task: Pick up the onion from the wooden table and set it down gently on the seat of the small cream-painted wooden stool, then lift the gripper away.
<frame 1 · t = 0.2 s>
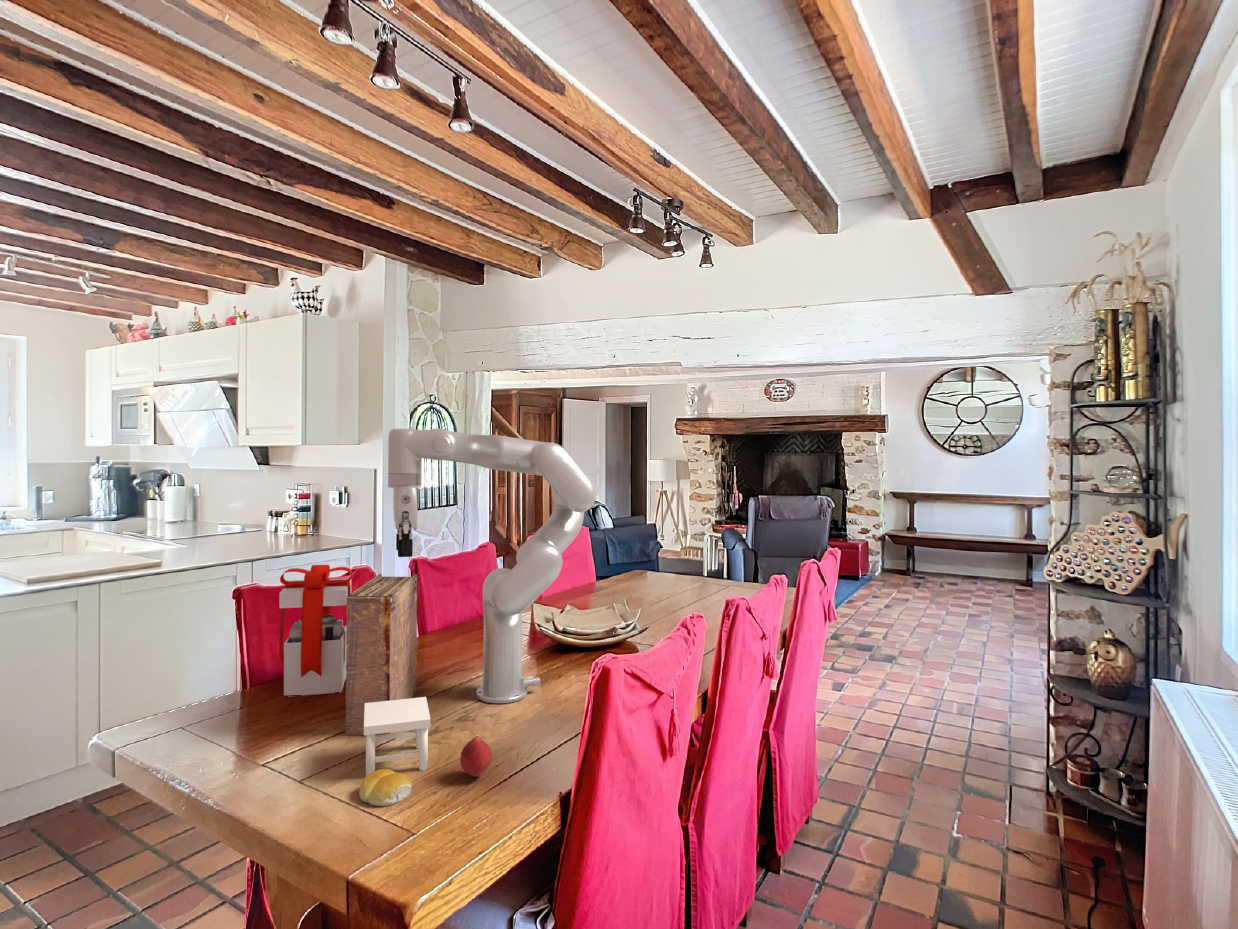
hand: (404, 553, 161), 37 cm above the table, tool pointing down, fingers open, 9 cm apart
book: (383, 713, 159), on the table
gift wrap: (316, 686, 175), on the table
stool: (396, 761, 135), on the table
onion: (475, 777, 129), on the table
bread roll: (385, 796, 122), on the table
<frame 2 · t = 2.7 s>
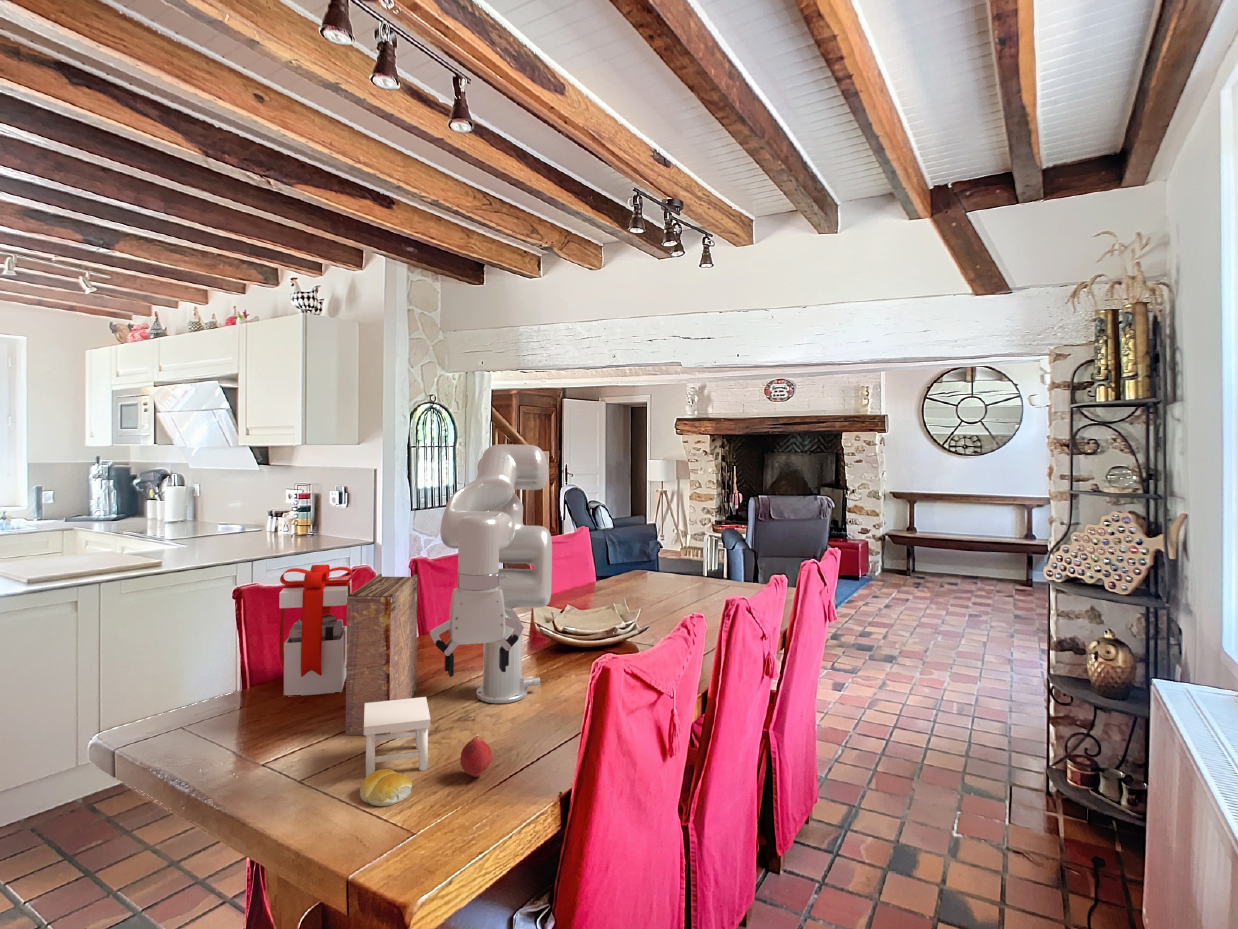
hand: (476, 672, 128), 20 cm above the table, tool pointing down, fingers open, 9 cm apart
nothing on the table moved.
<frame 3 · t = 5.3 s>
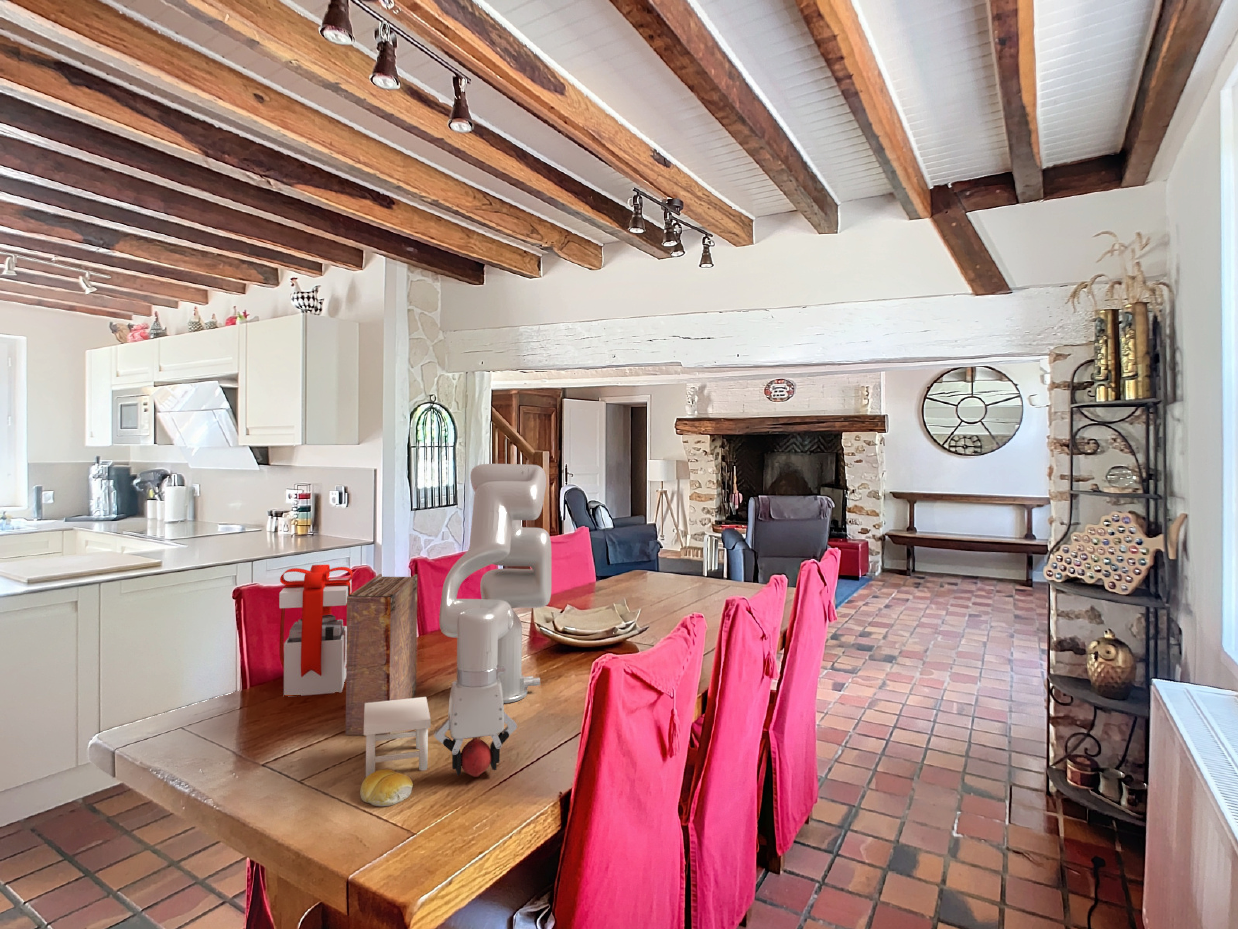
hand: (475, 768, 129), 2 cm above the table, tool pointing down, fingers closed on onion, 5 cm apart
onion: (475, 777, 129), on the table, touching gripper
everything else where it was.
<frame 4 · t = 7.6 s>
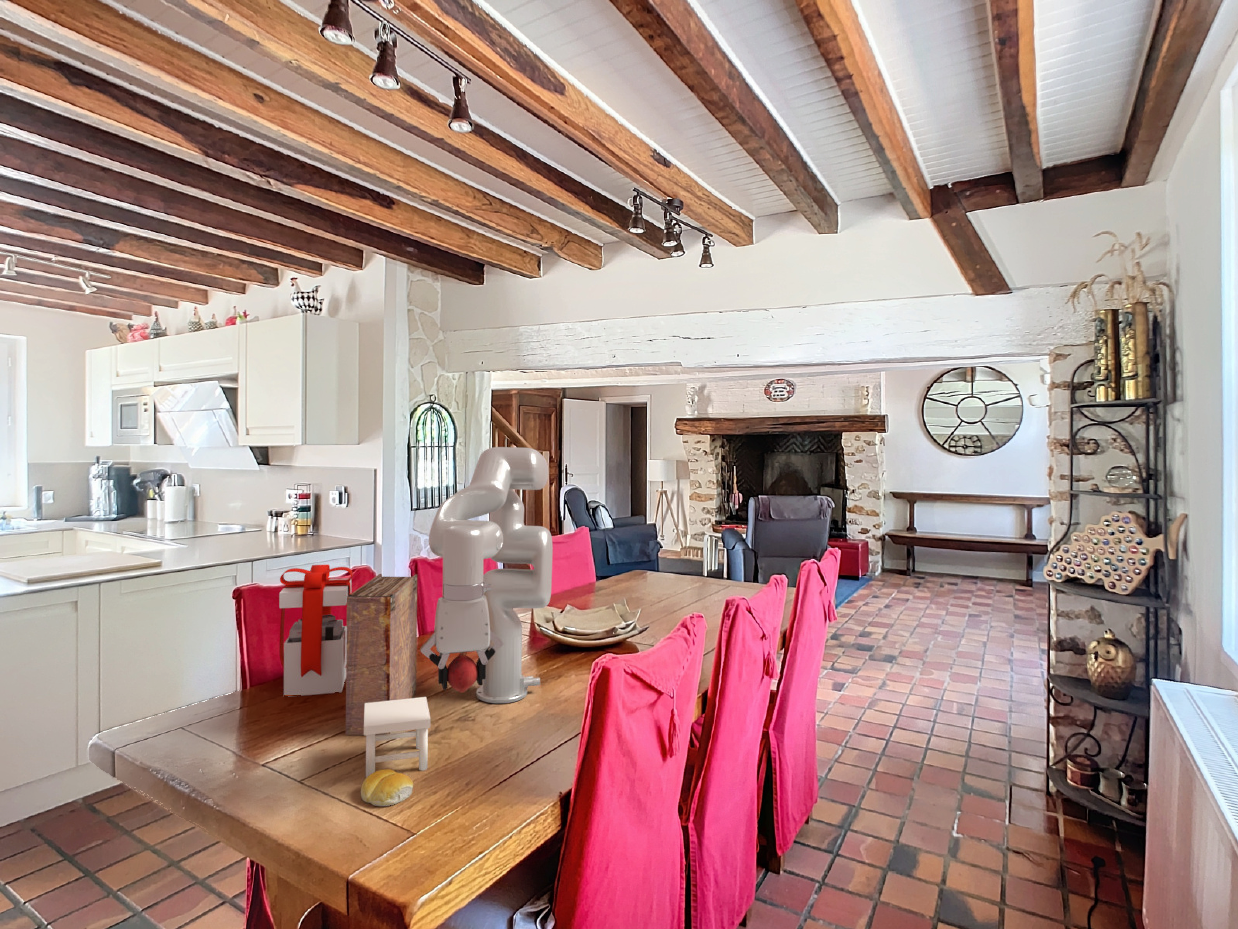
hand: (462, 684, 130), 17 cm above the table, tool pointing down, fingers closed on onion, 5 cm apart
onion: (462, 693, 130), point 15 cm above the table, touching gripper
everything else where it was.
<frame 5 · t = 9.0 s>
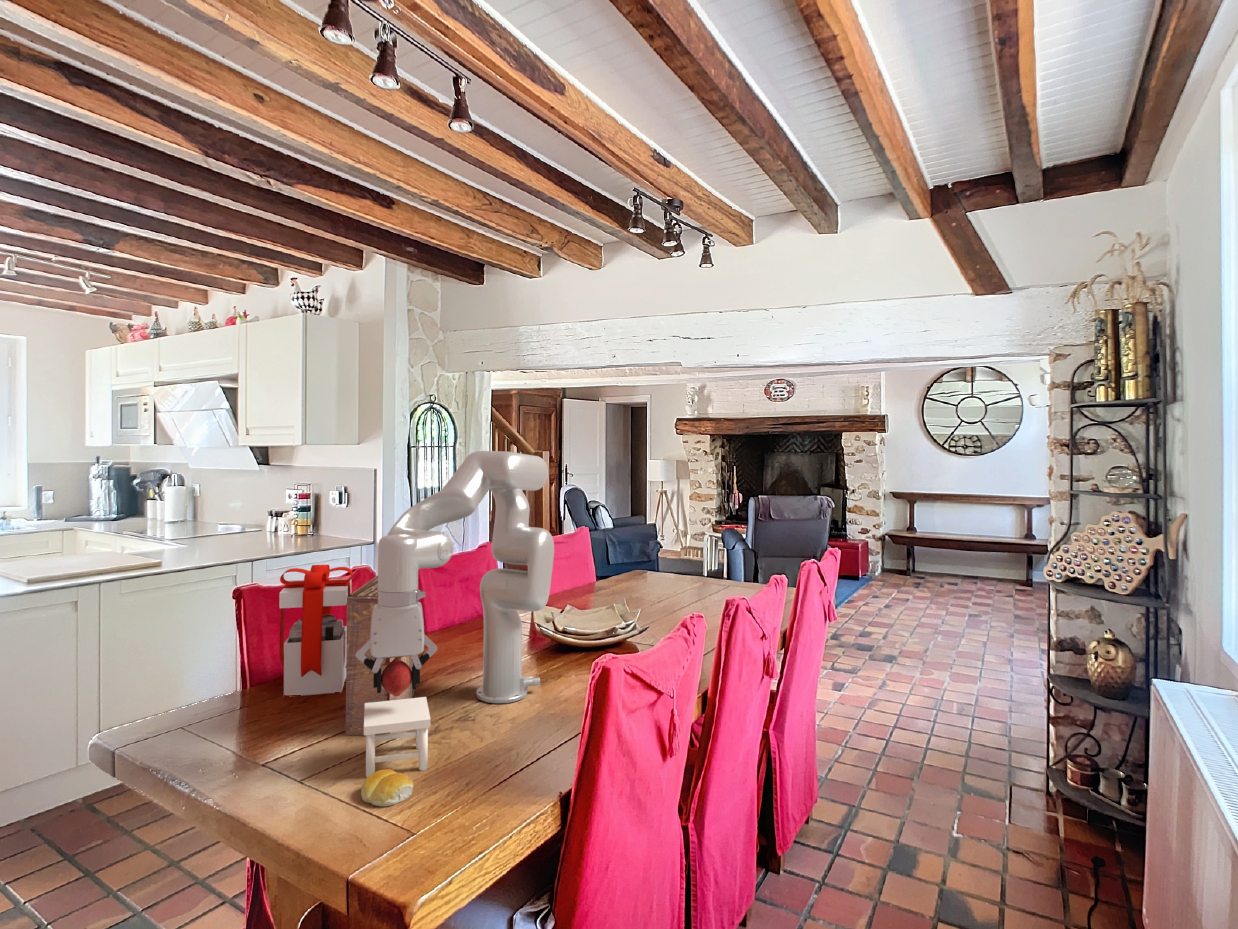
hand: (396, 688, 134), 15 cm above the table, tool pointing down, fingers closed on onion, 5 cm apart
onion: (396, 697, 134), point 13 cm above the table, touching gripper
everything else where it was.
when the fingers open (13 cm above the table, at t = 10.1 s): onion drops 1 cm, resting on stool.
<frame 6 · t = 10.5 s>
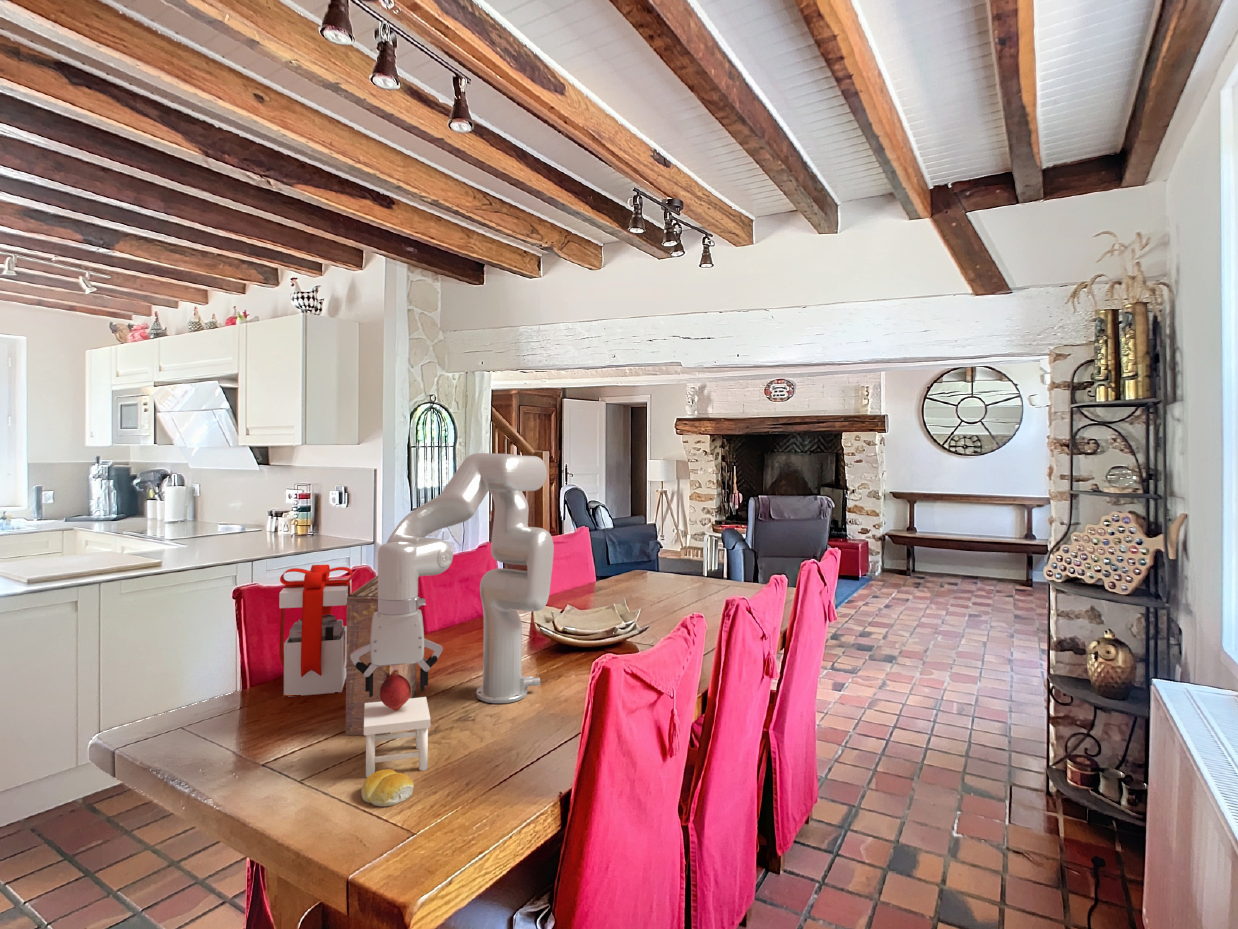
hand: (396, 692, 134), 14 cm above the table, tool pointing down, fingers open, 9 cm apart
onion: (396, 711, 135), point 10 cm above the table, touching stool
everything else where it was.
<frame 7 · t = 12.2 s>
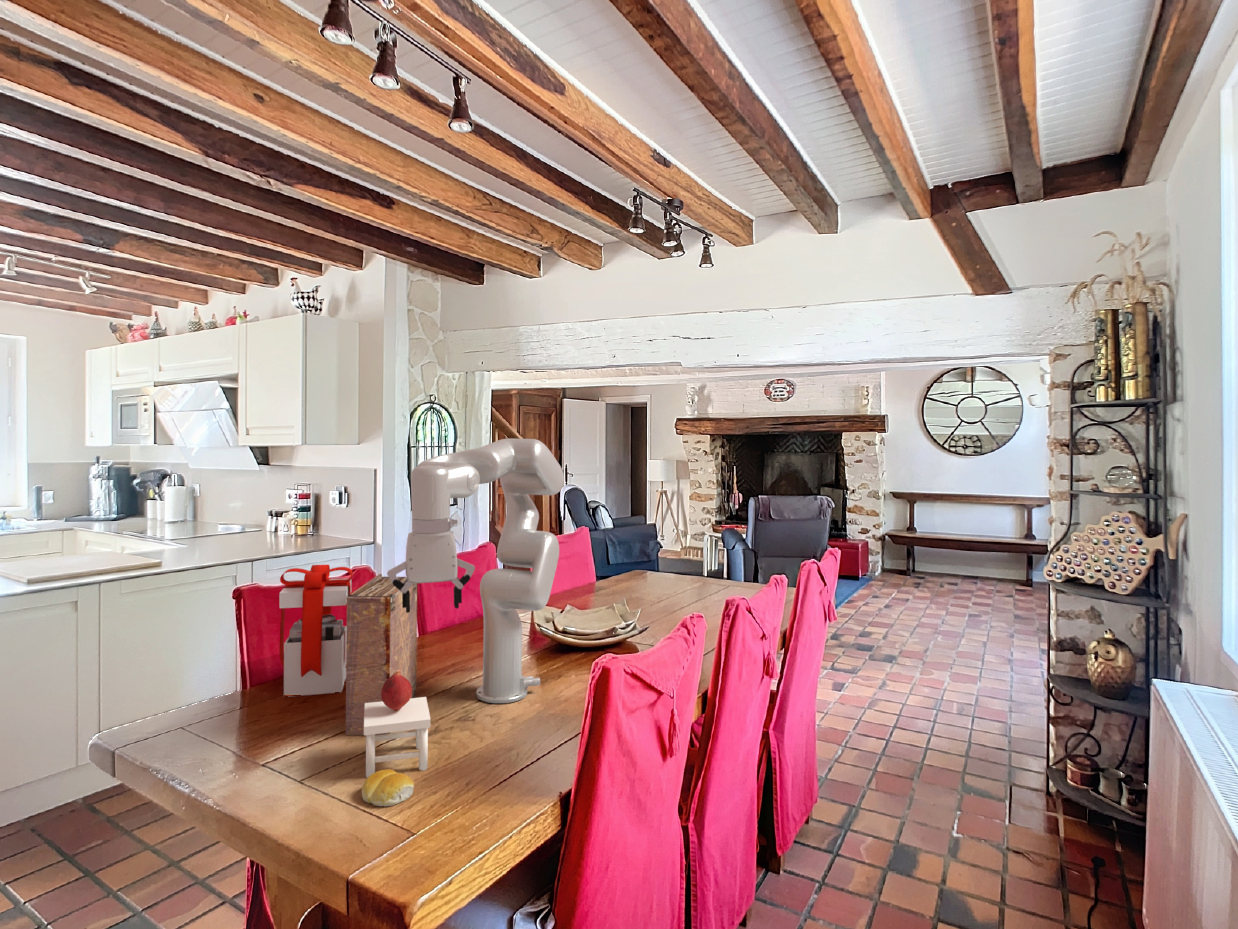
hand: (432, 608, 140), 29 cm above the table, tool pointing down, fingers open, 9 cm apart
nothing on the table moved.
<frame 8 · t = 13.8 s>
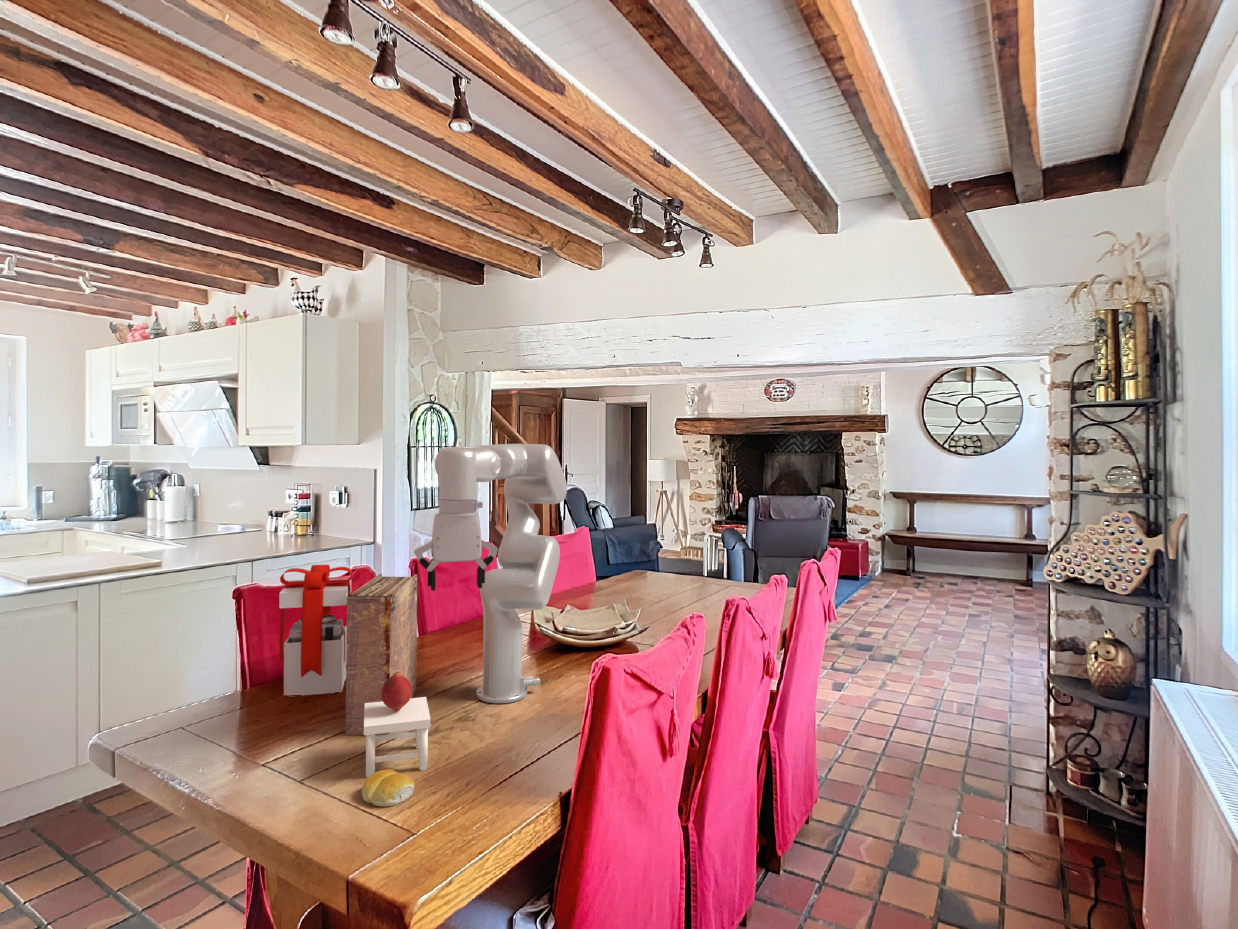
hand: (456, 588, 144), 32 cm above the table, tool pointing down, fingers open, 9 cm apart
nothing on the table moved.
at the end: onion inside the target area on the stool (0.1 cm from its centre), point 9.8 cm above the stool's base; onion touching stool; the gripper is holding nothing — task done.
